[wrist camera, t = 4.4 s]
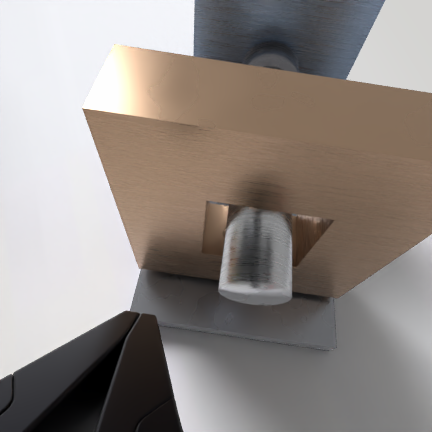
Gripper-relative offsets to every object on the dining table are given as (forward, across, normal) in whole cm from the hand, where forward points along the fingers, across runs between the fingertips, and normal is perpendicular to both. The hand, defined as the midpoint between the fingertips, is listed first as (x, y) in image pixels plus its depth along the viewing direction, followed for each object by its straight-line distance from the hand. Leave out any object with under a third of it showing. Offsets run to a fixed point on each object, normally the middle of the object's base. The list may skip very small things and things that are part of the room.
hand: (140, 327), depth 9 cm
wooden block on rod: (+8, -3, +1) cm, 9 cm away
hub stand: (+11, -3, -1) cm, 12 cm away
